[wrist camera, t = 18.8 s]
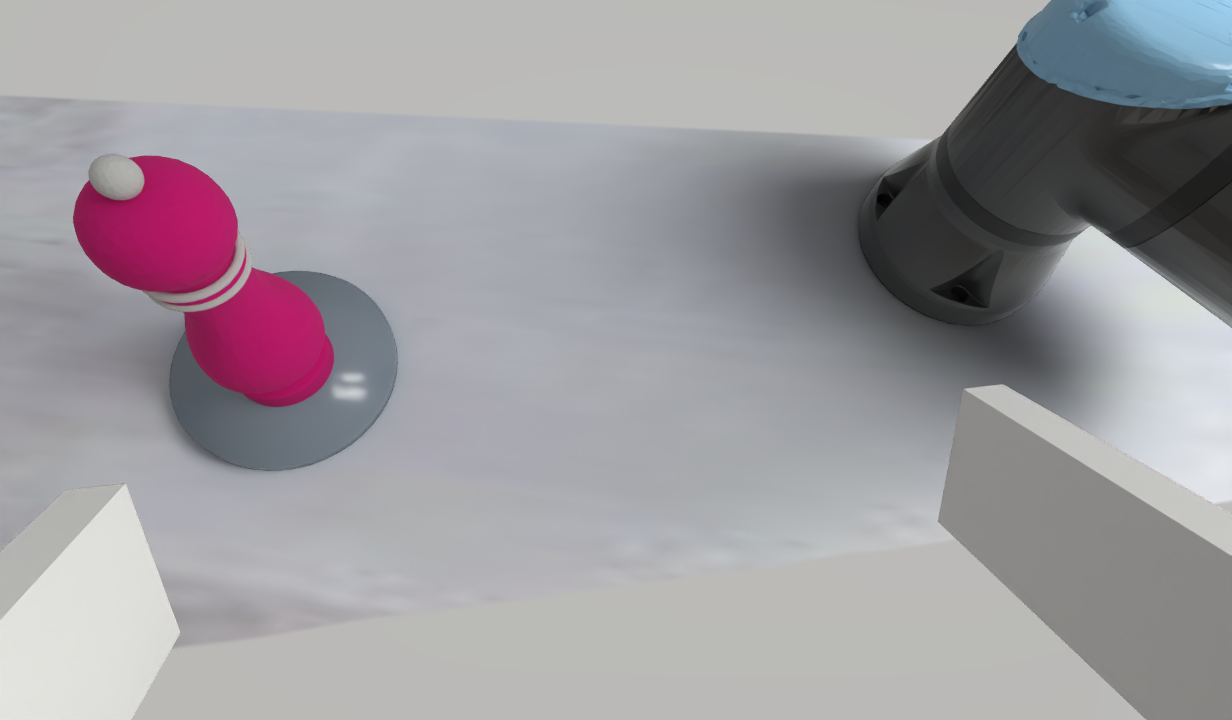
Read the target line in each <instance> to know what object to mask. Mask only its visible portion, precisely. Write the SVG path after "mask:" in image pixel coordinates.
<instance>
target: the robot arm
mask: <svg viewBox="0 0 1232 720" xmlns="http://www.w3.org/2000/svg"><path fill="white" fill-rule="evenodd" d="M1091 225H1092V226H1093V227H1095V228H1096V229H1098V230H1099V231H1100V232H1102V233H1103V234H1105V235H1106V236H1108V237H1109V238H1110V239H1112V240H1113V241H1115V242H1116V243H1117V244H1119V245H1120V246H1121V247H1123V248H1124V249H1126V250H1127V251H1128V252H1130V253H1131V254H1132V255H1134V256H1135V257H1136V258H1138V259H1139V260H1140V261H1142V262H1143V263H1145V264H1146V265H1147V266H1149V267H1150V268H1151V269H1153V270H1154V271H1155V272H1157V273H1158V274H1159V275H1161V276H1162V277H1163V278H1165V279H1166V280H1168V281H1169V282H1170V283H1172V284H1173V285H1174V286H1176V287H1177V288H1178V289H1180V290H1181V291H1182V292H1184V293H1185V294H1187V295H1188V296H1189V297H1191V298H1192V299H1193V300H1195V301H1196V302H1197V303H1199V304H1200V305H1201V306H1203V307H1204V308H1206V309H1207V310H1208V311H1210V312H1211V313H1212V314H1214V315H1215V316H1216V317H1218V318H1219V319H1220V320H1222V321H1223V322H1225V323H1226V324H1227V325H1229V326H1230V327H1231V328H1232V0H1051V1H1050V2H1049V3H1048V4H1047V5H1046V6H1045V8H1044V9H1043V10H1042V11H1040V12H1039V13H1038V14H1036V15H1035V16H1034V17H1033V18H1031V19H1030V20H1029V21H1028V22H1027V24H1026V25H1025V26H1024V28H1023V29H1022V31H1021V32H1020V34H1019V36H1018V41H1017V43H1016V45H1015V46H1014V47H1013V48H1012V50H1011V51H1010V52H1009V53H1008V54H1007V56H1006V57H1005V58H1004V59H1003V61H1002V62H1001V63H1000V64H999V66H998V67H997V68H996V69H995V70H994V72H993V73H992V74H991V75H990V77H989V78H988V79H987V80H986V81H985V83H984V84H983V85H982V86H981V88H980V89H979V90H978V91H977V93H976V94H975V95H974V96H973V98H972V99H971V100H970V101H969V102H968V104H967V105H966V106H965V108H964V109H963V110H962V111H961V112H960V113H959V115H958V116H957V117H956V118H955V120H954V121H953V122H952V124H951V125H950V126H949V127H948V128H947V130H946V131H945V132H944V134H943V135H942V136H940V137H938V138H937V139H935V140H933V141H932V142H930V143H929V144H927V145H925V146H924V147H922V148H921V149H919V150H917V151H916V152H914V153H912V154H911V155H909V156H908V157H906V158H904V159H903V160H901V161H900V162H898V163H896V164H895V165H894V166H892V167H891V168H890V169H889V170H888V171H886V172H885V173H884V174H883V176H882V177H881V178H880V179H879V180H878V182H877V183H876V185H875V186H874V187H873V189H872V190H871V191H870V193H869V194H868V195H867V197H866V199H865V201H864V203H863V205H862V208H861V212H860V217H859V236H860V241H861V245H862V248H863V251H864V254H865V256H866V258H867V260H868V262H869V264H870V266H871V268H872V269H873V271H874V272H875V274H876V275H877V277H878V278H879V279H880V280H881V282H882V283H883V284H884V285H885V286H886V287H887V288H888V289H889V290H890V291H891V292H892V293H893V294H894V295H895V296H897V297H898V298H899V299H900V300H902V301H903V302H904V303H906V304H907V305H909V306H910V307H912V308H914V309H915V310H917V311H919V312H921V313H923V314H925V315H927V316H930V317H932V318H935V319H938V320H941V321H944V322H949V323H954V324H961V325H981V324H987V323H992V322H995V321H998V320H1001V319H1003V318H1005V317H1007V316H1009V315H1010V314H1012V313H1013V312H1015V311H1016V310H1018V309H1019V308H1021V307H1022V306H1023V305H1025V304H1026V303H1028V302H1029V301H1030V300H1032V299H1033V298H1034V297H1035V296H1036V295H1037V294H1038V293H1039V292H1040V291H1041V289H1042V288H1043V287H1044V285H1045V284H1046V282H1047V281H1048V279H1049V277H1050V276H1051V274H1052V273H1053V271H1054V269H1055V268H1056V266H1057V264H1058V263H1059V261H1060V260H1061V258H1062V256H1063V255H1064V253H1065V251H1066V250H1067V248H1068V247H1069V245H1070V243H1071V242H1072V240H1073V239H1074V238H1075V237H1076V236H1077V235H1079V234H1080V233H1081V232H1083V231H1084V230H1085V229H1087V228H1088V227H1089V226H1091ZM938 522H939V523H940V524H941V525H942V526H943V527H944V528H945V529H946V530H947V531H948V532H949V533H950V534H951V535H953V536H954V537H955V538H956V539H957V540H958V541H959V542H960V543H961V544H962V545H963V546H964V547H965V548H966V549H967V550H968V551H969V552H971V554H973V555H974V556H975V557H976V558H977V559H978V560H979V561H980V562H981V563H982V564H983V565H984V566H985V567H986V568H987V569H988V570H989V571H990V572H992V573H993V574H994V575H995V576H996V577H997V578H998V579H999V580H1000V581H1001V582H1002V583H1003V584H1004V585H1005V586H1006V587H1007V588H1008V589H1010V591H1012V592H1013V593H1014V594H1015V595H1016V596H1017V597H1018V598H1019V599H1020V600H1021V601H1022V602H1023V603H1024V604H1025V605H1026V606H1027V607H1028V608H1029V609H1030V610H1032V612H1034V613H1035V614H1036V615H1037V616H1038V617H1039V618H1040V619H1041V620H1042V621H1043V622H1044V623H1045V624H1046V625H1047V626H1049V628H1050V629H1051V630H1053V631H1054V632H1055V633H1056V634H1057V635H1058V636H1059V637H1060V638H1061V639H1062V640H1063V641H1064V642H1065V643H1066V644H1067V645H1068V646H1069V647H1070V648H1071V649H1072V650H1074V651H1075V652H1076V653H1077V654H1078V655H1079V656H1080V657H1081V658H1082V659H1083V660H1084V661H1085V662H1086V663H1087V664H1088V665H1089V666H1090V667H1091V668H1092V669H1094V670H1095V671H1096V672H1097V673H1098V674H1099V675H1100V676H1101V677H1102V678H1103V679H1104V680H1105V681H1106V682H1107V683H1108V684H1109V685H1110V686H1111V687H1112V688H1114V689H1115V690H1116V691H1117V692H1118V693H1119V694H1120V695H1121V696H1122V697H1123V698H1124V699H1125V700H1126V701H1127V702H1128V703H1129V704H1130V705H1131V706H1132V707H1134V708H1135V709H1136V710H1137V711H1138V712H1139V713H1140V714H1141V715H1142V716H1143V717H1144V718H1145V719H1147V720H1232V514H1231V513H1229V512H1228V511H1226V510H1224V509H1222V508H1220V507H1218V506H1217V505H1215V504H1213V503H1212V502H1210V501H1208V500H1206V499H1205V498H1203V497H1201V496H1199V495H1198V494H1196V493H1194V492H1192V491H1190V490H1189V489H1187V488H1185V487H1183V486H1182V485H1180V484H1178V483H1176V482H1175V481H1173V480H1171V479H1169V478H1167V477H1166V476H1164V475H1162V474H1160V473H1159V472H1157V471H1155V470H1153V469H1152V468H1150V467H1148V466H1146V465H1145V464H1143V463H1141V462H1139V461H1137V460H1136V459H1134V458H1132V457H1130V456H1129V455H1127V454H1125V453H1123V452H1122V451H1120V450H1118V449H1116V448H1115V447H1113V446H1111V445H1109V444H1107V443H1106V442H1104V441H1102V440H1100V439H1099V438H1097V437H1095V436H1093V435H1092V434H1090V433H1088V432H1086V431H1084V430H1083V429H1081V428H1079V427H1077V426H1076V425H1074V424H1072V423H1070V422H1069V421H1067V420H1065V419H1063V418H1062V417H1060V416H1058V415H1056V414H1054V413H1053V412H1051V411H1049V410H1047V409H1046V408H1044V407H1042V406H1040V405H1039V404H1037V403H1035V402H1033V401H1032V400H1030V399H1028V398H1026V397H1024V396H1023V395H1021V394H1019V393H1017V392H1016V391H1014V390H1012V389H1010V388H1009V387H1007V386H1005V385H1003V384H1000V385H992V386H983V387H974V388H965V389H963V392H962V397H961V403H960V408H959V413H958V418H957V424H956V429H955V434H954V440H953V445H952V450H951V455H950V461H949V466H948V471H947V476H946V482H945V487H944V492H943V498H942V503H941V508H940V513H939V519H938ZM179 634H180V631H179V628H178V625H177V622H176V620H175V617H174V614H173V611H172V609H171V606H170V603H169V600H168V598H167V595H166V592H165V590H164V587H163V584H162V581H161V579H160V576H159V573H158V570H157V568H156V565H155V562H154V559H153V557H152V554H151V551H150V548H149V546H148V543H147V540H146V538H145V535H144V532H143V529H142V527H141V524H140V521H139V518H138V516H137V513H136V510H135V507H134V505H133V502H132V499H131V497H130V494H129V491H128V488H127V486H126V483H123V484H115V485H106V486H97V487H88V488H79V489H70V490H65V491H64V492H63V493H62V494H61V495H60V496H58V497H57V498H56V499H55V500H54V501H53V502H52V503H51V504H50V505H49V506H48V507H47V508H46V509H45V510H44V511H43V512H42V513H41V514H40V515H39V516H37V517H36V518H35V519H34V520H33V521H32V522H31V523H30V524H29V525H28V526H27V527H26V528H25V529H24V530H23V531H22V532H21V533H20V534H19V535H17V536H16V537H15V538H14V539H13V540H12V541H11V542H10V543H9V544H8V545H7V546H6V547H5V548H4V549H3V550H2V551H1V552H0V720H132V718H133V716H134V714H135V713H136V711H137V709H138V707H139V706H140V704H141V702H142V700H143V698H144V697H145V695H146V693H147V691H148V689H149V688H150V686H151V684H152V682H153V680H154V679H155V677H156V675H157V674H158V671H159V670H160V668H161V666H162V665H163V663H164V661H165V659H166V658H167V655H168V654H169V652H170V650H171V649H172V647H173V645H174V643H175V641H176V640H177V638H178V636H179Z"/></svg>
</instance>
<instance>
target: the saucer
mask: <svg viewBox="0 0 1232 720" xmlns="http://www.w3.org/2000/svg"><path fill="white" fill-rule="evenodd" d="M274 275H277V276H279V277H282V278H284V279H285V280H287V281H289V282H291V283H292V284H294V285H296V286H297V287H299V288H300V289H301V290H302V291H303V292H305V293H306V294H307V295H308V297H309V298H310V299H311V300H312V301H313V302H314V303H315V305H316V306H317V307H318V309H319V311H320V313H321V315H322V319H323V322H324V327H325V334H326V335H327V336H328V338H329V340H330V342H331V344H332V346H333V350H334V364H333V368H332V371H331V374H330V376H329V378H328V379H327V381H326V383H325V384H324V385H323V386H322V387H321V388H320V389H319V390H318V391H317V392H316V393H315V394H314V395H312V396H311V397H309V398H307V399H306V400H304V401H302V402H299V403H297V404H294V405H289V406H283V407H270V406H264V405H261V404H258V403H256V402H254V401H252V400H250V399H249V398H247V397H246V396H245V395H244V394H242V393H239V392H235V391H232V390H229V389H227V388H224V387H222V386H221V385H219V384H217V383H216V382H214V381H213V380H212V379H211V378H210V377H209V376H207V374H206V373H205V372H204V371H203V370H202V369H201V368H200V367H199V365H198V364H197V362H196V360H195V359H194V357H193V355H192V352H191V350H190V347H189V344H188V342H187V337H186V331H185V333H184V335H183V336H182V338H181V340H180V342H179V344H178V346H177V349H176V351H175V354H174V357H173V361H172V365H171V370H170V395H171V400H172V404H173V408H174V410H175V413H176V415H177V417H178V420H179V421H180V423H181V424H182V426H183V428H184V429H185V431H186V432H187V433H188V434H189V435H190V436H191V437H192V438H193V440H194V441H196V442H197V443H198V444H199V445H201V446H202V447H203V448H204V449H206V450H207V451H209V452H211V453H213V454H214V455H216V456H218V457H219V458H221V459H223V460H225V461H227V462H230V463H232V464H235V465H237V466H242V467H246V468H250V469H257V470H265V471H271V470H288V469H295V468H300V467H304V466H308V465H312V464H314V463H317V462H319V461H322V460H325V459H327V458H329V457H331V456H333V455H335V454H337V453H339V452H340V451H342V450H343V449H345V448H346V447H348V446H349V445H351V444H352V443H354V442H355V441H356V440H357V439H358V438H359V437H361V436H362V435H363V434H364V433H365V432H366V431H367V430H368V429H369V428H370V427H371V426H372V424H373V423H374V422H375V421H376V419H377V418H378V417H379V415H380V414H381V412H382V411H383V409H384V407H385V405H386V404H387V402H388V400H389V398H390V395H391V392H392V390H393V387H394V383H395V379H396V374H397V364H398V361H397V348H396V344H395V339H394V336H393V334H392V331H391V328H390V326H389V324H388V322H387V320H386V318H385V316H384V315H383V313H382V311H381V310H380V309H379V307H378V306H377V305H376V303H375V302H374V301H373V300H372V299H371V298H370V297H369V296H368V295H367V294H365V293H364V292H363V291H361V290H360V289H359V288H357V287H356V286H354V285H352V284H350V283H348V282H346V281H344V280H342V279H339V278H336V277H334V276H330V275H326V274H322V273H316V272H308V271H289V272H279V273H274Z"/></svg>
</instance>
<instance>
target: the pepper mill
mask: <svg viewBox="0 0 1232 720" xmlns="http://www.w3.org/2000/svg"><path fill="white" fill-rule="evenodd" d="M89 179H90V180H89V181H88V182H87V183H86V184H85V186H84V187H83V189H82V191H81V192H80V194H79V196H78V198H77V200H76V204H75V210H74V216H73V223H74V227H75V231H76V235H77V238H78V241H79V243H80V245H81V247H82V248H83V250H84V252H85V254H86V255H87V256H88V257H89V258H90V260H91V261H92V262H93V263H94V264H95V265H96V266H97V267H98V268H99V269H100V270H101V271H102V272H103V273H105V274H106V275H107V276H109V277H110V278H112V279H114V280H116V281H118V282H119V283H121V284H123V285H125V286H129V287H132V288H135V289H139V290H142V291H143V292H144V293H146V294H147V295H148V296H149V297H150V298H151V299H152V300H153V301H155V302H156V303H157V304H159V305H161V306H163V307H165V308H168V309H171V310H175V311H181V312H184V314H185V329H186V337H187V342H188V344H189V347H190V350H191V352H192V355H193V357H194V359H195V360H196V362H197V364H198V365H199V367H200V368H201V369H202V370H203V371H204V372H205V373H206V374H207V376H209V377H210V378H211V379H212V380H213V381H214V382H216V383H217V384H219V385H221V386H222V387H224V388H227V389H229V390H232V391H235V392H239V393H242V394H244V395H245V396H246V397H247V398H249V399H250V400H252V401H254V402H256V403H258V404H261V405H264V406H270V407H283V406H289V405H294V404H297V403H299V402H302V401H304V400H306V399H307V398H309V397H311V396H312V395H314V394H315V393H316V392H317V391H318V390H319V389H320V388H321V387H322V386H323V385H324V384H325V383H326V381H327V379H328V378H329V376H330V374H331V371H332V368H333V364H334V350H333V346H332V344H331V342H330V340H329V338H328V336H327V335H326V334H325V327H324V322H323V319H322V315H321V313H320V311H319V309H318V307H317V306H316V305H315V303H314V302H313V301H312V300H311V299H310V298H309V297H308V295H307V294H306V293H305V292H303V291H302V290H301V289H300V288H299V287H297V286H296V285H294V284H292V283H291V282H289V281H287V280H285V279H284V278H282V277H279V276H277V275H274V274H271V273H267V272H264V271H260V270H257V269H254V268H252V253H251V250H250V248H249V245H248V243H247V242H246V241H245V239H244V238H243V237H242V236H241V234H240V232H239V231H238V222H237V217H236V213H235V210H234V208H233V206H232V204H231V202H230V200H229V198H228V196H227V195H226V194H225V193H224V191H223V190H222V189H221V188H220V186H219V185H218V184H217V183H215V182H214V181H213V180H212V179H211V178H210V177H209V176H208V175H206V174H205V173H203V172H202V171H200V170H199V169H197V168H196V167H194V166H192V165H189V164H187V163H184V162H182V161H180V160H177V159H172V158H167V157H161V156H139V157H132V158H127V157H124V156H121V155H117V154H108V155H103V156H100V157H99V158H97V159H95V160H94V161H93V162H92V164H91V166H90V169H89Z"/></svg>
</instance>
